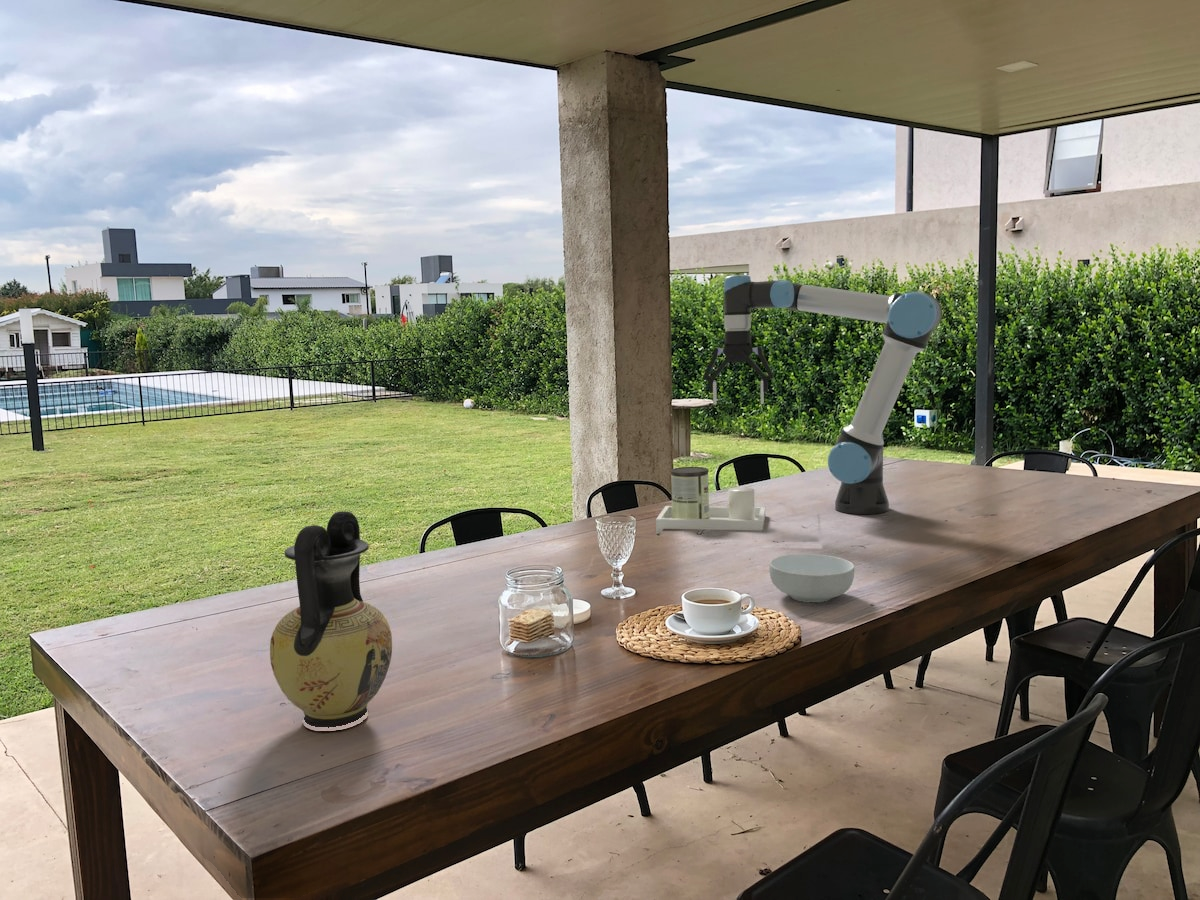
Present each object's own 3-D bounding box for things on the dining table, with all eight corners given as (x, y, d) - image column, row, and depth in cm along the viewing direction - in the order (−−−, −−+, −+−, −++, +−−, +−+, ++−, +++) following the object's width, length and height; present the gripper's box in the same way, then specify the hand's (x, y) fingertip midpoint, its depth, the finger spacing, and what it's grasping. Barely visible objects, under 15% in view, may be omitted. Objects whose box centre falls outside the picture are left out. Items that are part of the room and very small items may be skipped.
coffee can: (672, 516, 259) (671, 466, 257) (709, 516, 258) (708, 466, 256) (671, 524, 249) (670, 472, 247) (709, 524, 248) (709, 472, 246)
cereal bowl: (839, 614, 176) (839, 578, 175) (756, 603, 184) (756, 568, 183) (864, 591, 190) (865, 557, 189) (787, 581, 199) (787, 549, 198)
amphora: (377, 746, 126) (363, 530, 122) (255, 747, 127) (237, 533, 123) (409, 694, 143) (397, 504, 139) (302, 696, 144) (287, 507, 140)
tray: (765, 521, 258) (765, 507, 258) (762, 535, 241) (762, 520, 240) (665, 519, 264) (665, 505, 264) (656, 533, 247) (655, 519, 246)
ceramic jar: (755, 519, 253) (755, 487, 252) (754, 525, 247) (753, 492, 245) (729, 519, 255) (729, 487, 254) (727, 525, 248) (727, 492, 247)
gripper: (782, 328, 266) (782, 402, 269) (695, 331, 272) (696, 403, 275) (781, 329, 259) (781, 404, 262) (692, 331, 265) (694, 405, 267)
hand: (738, 404), depth 268 cm, fingers open, 13 cm apart
